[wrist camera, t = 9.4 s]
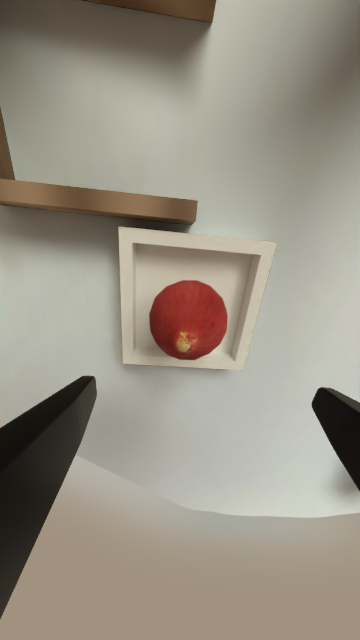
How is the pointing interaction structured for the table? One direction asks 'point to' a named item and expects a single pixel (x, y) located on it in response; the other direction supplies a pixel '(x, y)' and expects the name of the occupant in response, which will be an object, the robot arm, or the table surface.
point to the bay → (5, 190)
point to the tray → (190, 264)
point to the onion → (188, 319)
